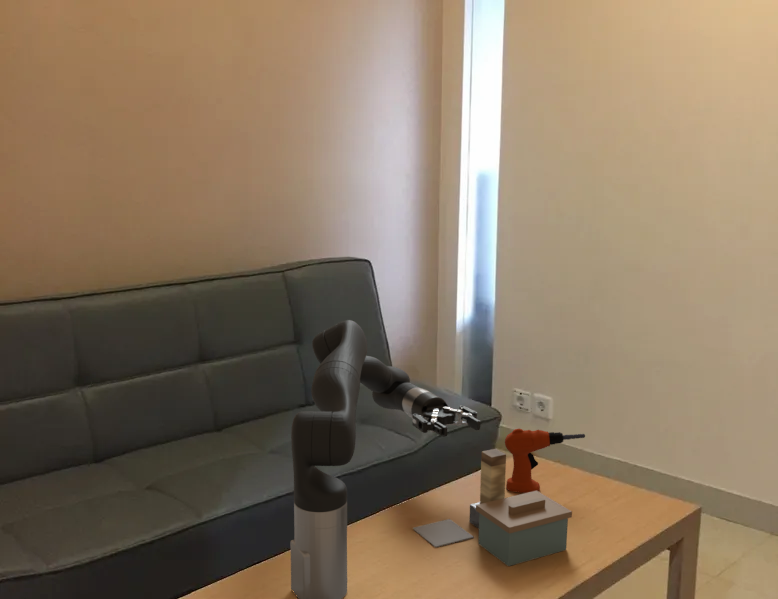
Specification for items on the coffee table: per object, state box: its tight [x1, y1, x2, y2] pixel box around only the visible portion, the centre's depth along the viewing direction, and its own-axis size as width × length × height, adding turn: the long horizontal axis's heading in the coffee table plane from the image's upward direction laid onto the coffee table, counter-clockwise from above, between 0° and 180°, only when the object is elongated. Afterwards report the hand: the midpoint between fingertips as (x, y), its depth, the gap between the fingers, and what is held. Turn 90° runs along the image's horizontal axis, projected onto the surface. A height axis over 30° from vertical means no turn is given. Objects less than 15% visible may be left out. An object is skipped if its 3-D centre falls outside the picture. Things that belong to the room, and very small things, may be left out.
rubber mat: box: [412, 518, 474, 549], centre depth 170 cm, size 9×9×1 cm
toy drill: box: [504, 428, 586, 494], centre depth 190 cm, size 5×19×15 cm, turn 85°
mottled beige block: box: [479, 448, 507, 504], centre depth 172 cm, size 4×4×16 cm
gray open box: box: [468, 501, 480, 530], centre depth 173 cm, size 7×7×4 cm
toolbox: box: [476, 491, 573, 567], centre depth 163 cm, size 15×11×10 cm
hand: (462, 429), depth 180 cm, fingers open, 8 cm apart
